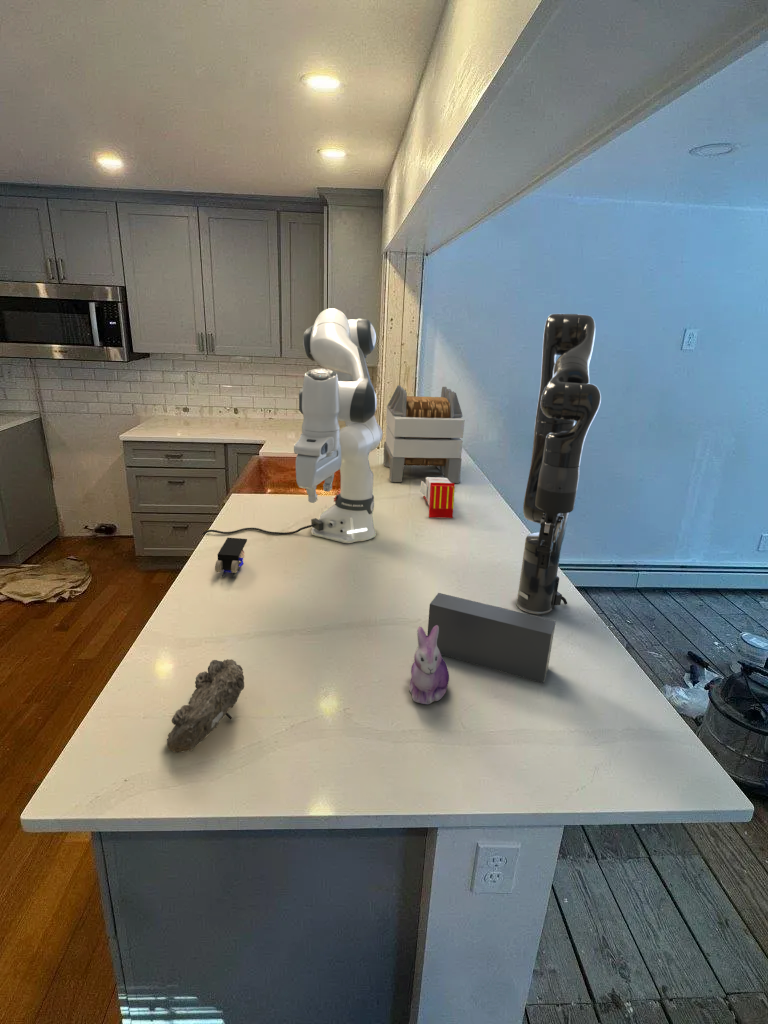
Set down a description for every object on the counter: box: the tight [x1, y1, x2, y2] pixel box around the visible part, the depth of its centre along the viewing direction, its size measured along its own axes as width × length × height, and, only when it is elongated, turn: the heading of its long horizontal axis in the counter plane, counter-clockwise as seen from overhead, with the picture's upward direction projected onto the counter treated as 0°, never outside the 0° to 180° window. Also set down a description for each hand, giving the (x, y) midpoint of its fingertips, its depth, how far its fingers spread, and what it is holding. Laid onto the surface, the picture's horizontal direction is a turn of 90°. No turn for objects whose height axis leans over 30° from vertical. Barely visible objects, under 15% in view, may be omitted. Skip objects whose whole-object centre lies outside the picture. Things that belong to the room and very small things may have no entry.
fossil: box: [166, 658, 245, 754], centre depth 106 cm, size 22×10×15 cm
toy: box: [419, 476, 456, 519], centre depth 228 cm, size 12×13×30 cm
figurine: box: [408, 625, 450, 705], centre depth 115 cm, size 9×10×15 cm
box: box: [426, 592, 557, 684], centre depth 128 cm, size 27×6×12 cm, turn 66°
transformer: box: [383, 384, 465, 484], centre depth 268 cm, size 34×33×41 cm
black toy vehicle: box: [214, 537, 248, 578], centre depth 166 cm, size 7×8×15 cm
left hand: (320, 496), depth 138 cm, fingers open, 8 cm apart
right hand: (546, 560), depth 117 cm, fingers open, 8 cm apart
